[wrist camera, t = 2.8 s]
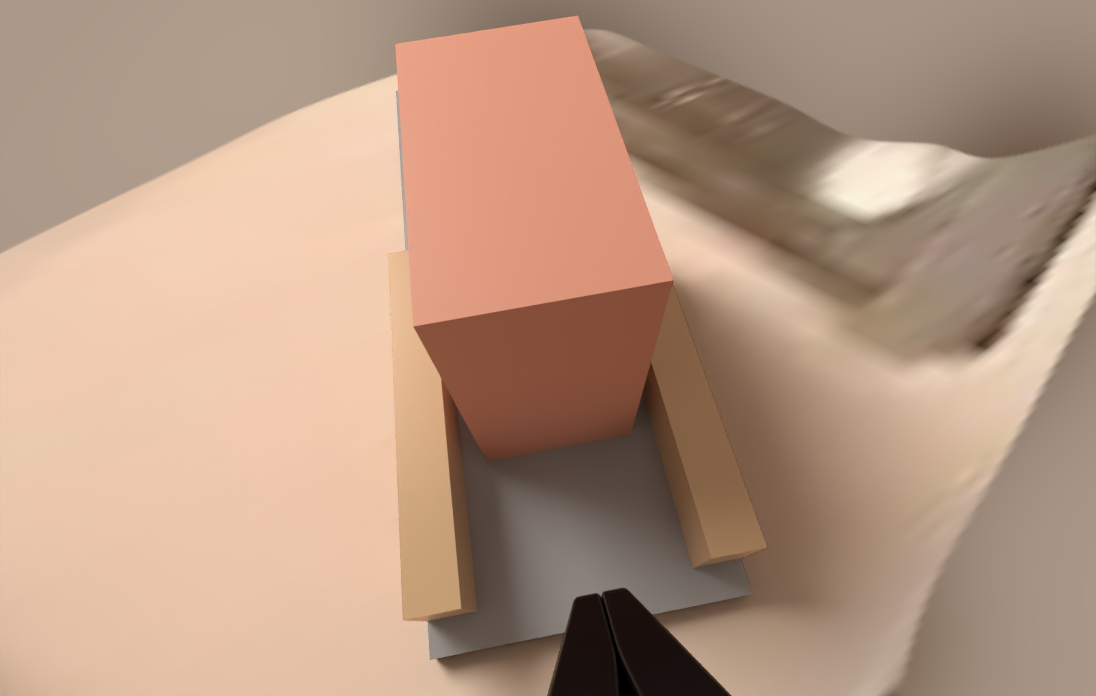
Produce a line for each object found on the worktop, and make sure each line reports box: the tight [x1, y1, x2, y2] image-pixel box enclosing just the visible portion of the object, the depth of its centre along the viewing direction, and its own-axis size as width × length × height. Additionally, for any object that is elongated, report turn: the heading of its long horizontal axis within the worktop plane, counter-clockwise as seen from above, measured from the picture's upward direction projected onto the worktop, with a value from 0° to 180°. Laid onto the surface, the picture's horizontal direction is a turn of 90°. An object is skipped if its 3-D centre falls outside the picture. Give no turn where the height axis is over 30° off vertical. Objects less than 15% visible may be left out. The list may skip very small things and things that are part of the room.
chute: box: [389, 91, 767, 660], centre depth 20 cm, size 26×10×3 cm, turn 10°
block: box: [396, 16, 673, 461], centre depth 16 cm, size 9×5×9 cm, turn 10°
